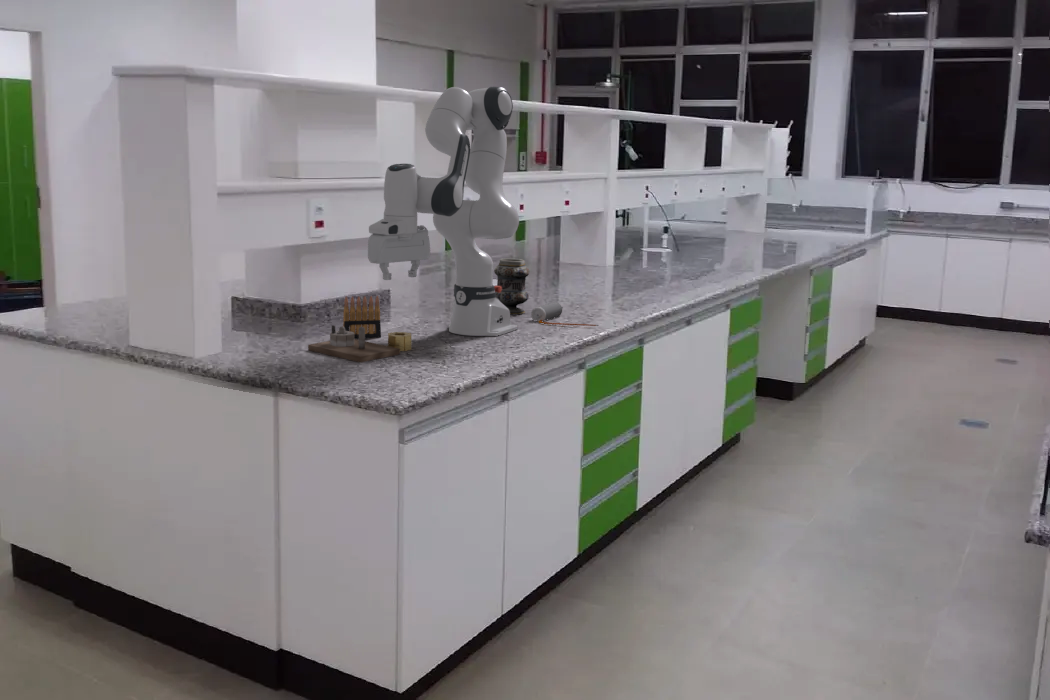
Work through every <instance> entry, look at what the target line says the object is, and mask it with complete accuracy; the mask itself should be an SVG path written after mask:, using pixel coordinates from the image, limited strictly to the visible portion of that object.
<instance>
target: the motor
mask: <svg viewBox="0 0 1050 700" xmlns="http://www.w3.org/2000/svg"><path fill="white" fill-rule="evenodd" d="M563 308H564V307H563V306H562V305H561V304H560V303H559V302H556V301H554V302H550V303H547V304H543V305H540V306H536V307H534V308H533V309H532V310H531V314H530V317H531V319H532V320H533V321H534V320H537V321H538V322H539V323H538V322H537V321H536V322H537V323H538V324H540V323H544V324H552V325H562V326H582V327H583V326H585V327H587V326H588V327H590V326H591V327H598V326H600V325H599V324H592V323H591V324H587V323H586V324H585V323H583V324H582V323H560V322H546V321H548V320H547V319H549V320H552V319H554V317H555V318H557V316H558V317H560V316H561V315H562V314H563ZM551 318H552V319H551ZM544 320H546V321H544ZM542 321H543V322H542ZM544 324H543V325H544Z"/></svg>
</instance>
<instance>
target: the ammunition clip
mask: <svg viewBox="0 0 1050 700" xmlns="http://www.w3.org/2000/svg"><path fill="white" fill-rule="evenodd" d="M344 297H345V298H344V301H343V302H344V303H343V314H342V315H343V316H342V317H343V320H342V321H343V323H342V326H343V327H345V331H350V332H354V339H359V328H360V327H364V328H365V339H379V338H380V339H381V338H382V332H381V330H382V328H381V308H380V298H379V296H378V295H376V297H375V304H374V299H373V296H372V295H371V296H370V297H369V301H367V300H368V299H367V297H366V296H365V295H364V296H363V299H362V301H361V297H360V296H357V299H356V303H355V299H354V296H351V299H350V302H349V300H348V299H349V298H348V297H347V295H346V296H344ZM367 302H368V303H367ZM349 303H350V305H349ZM361 303H362V305H361ZM355 304H356V306H355ZM374 305H375V306H374Z"/></svg>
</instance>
